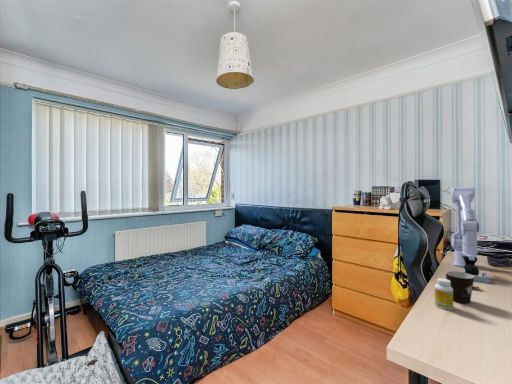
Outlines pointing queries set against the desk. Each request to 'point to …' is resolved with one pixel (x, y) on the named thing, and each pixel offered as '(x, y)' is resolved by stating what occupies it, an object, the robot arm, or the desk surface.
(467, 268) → the billiard ball
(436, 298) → the supplement bottle
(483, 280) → the corral
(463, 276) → the coffee mug
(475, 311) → the desk surface
